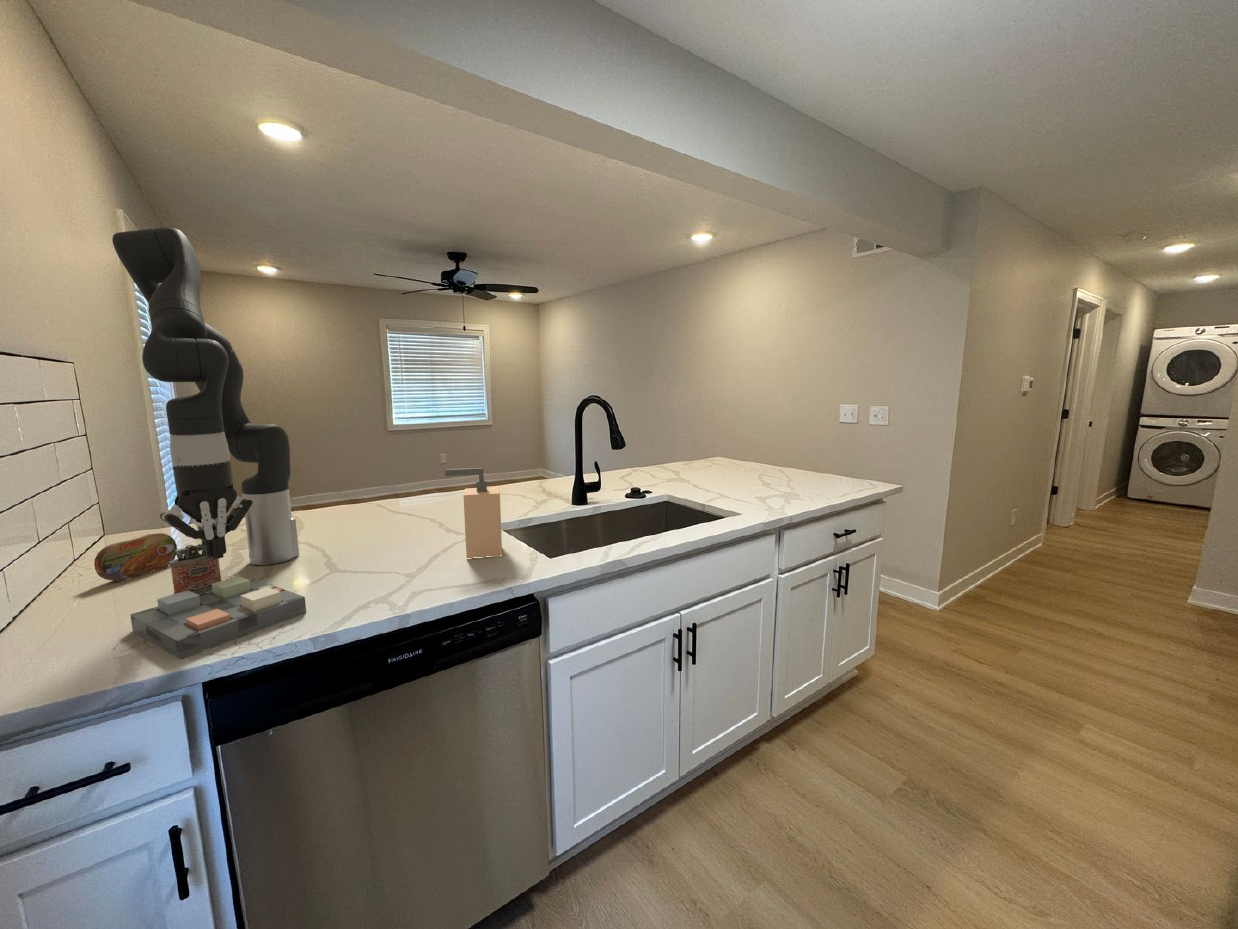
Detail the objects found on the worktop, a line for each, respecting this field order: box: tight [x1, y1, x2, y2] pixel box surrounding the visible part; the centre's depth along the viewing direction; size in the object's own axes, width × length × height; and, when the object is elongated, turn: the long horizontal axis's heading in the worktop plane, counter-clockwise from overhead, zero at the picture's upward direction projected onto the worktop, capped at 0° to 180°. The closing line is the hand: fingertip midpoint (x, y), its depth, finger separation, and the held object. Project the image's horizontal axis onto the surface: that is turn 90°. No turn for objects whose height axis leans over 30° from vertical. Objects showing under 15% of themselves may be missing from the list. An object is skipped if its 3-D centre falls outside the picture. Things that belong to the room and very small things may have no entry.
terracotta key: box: [186, 609, 230, 631], centre depth 84 cm, size 4×4×2 cm
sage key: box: [212, 576, 251, 599], centre depth 96 cm, size 4×4×2 cm
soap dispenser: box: [444, 467, 503, 558], centre depth 126 cm, size 13×9×22 cm
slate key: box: [156, 590, 201, 616], centre depth 89 cm, size 4×4×2 cm
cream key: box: [241, 587, 281, 612], centre depth 90 cm, size 4×4×2 cm
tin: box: [93, 532, 178, 582], centre depth 113 cm, size 15×3×8 cm, turn 168°
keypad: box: [130, 578, 307, 660], centre depth 90 cm, size 19×19×3 cm
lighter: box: [168, 542, 222, 595], centre depth 103 cm, size 8×3×10 cm, turn 148°
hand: (215, 558), depth 87 cm, fingers closed
